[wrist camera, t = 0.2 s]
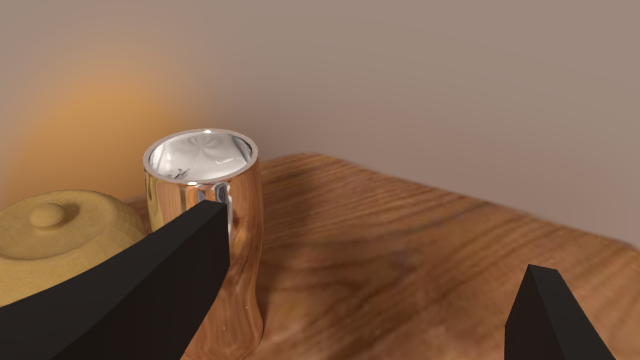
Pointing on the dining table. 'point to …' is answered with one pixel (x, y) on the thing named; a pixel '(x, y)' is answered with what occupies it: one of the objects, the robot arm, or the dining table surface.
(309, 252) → the dining table surface
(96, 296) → the robot arm
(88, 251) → the pot
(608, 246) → the dining table surface
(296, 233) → the dining table surface
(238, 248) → the beer glass
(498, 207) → the dining table surface
